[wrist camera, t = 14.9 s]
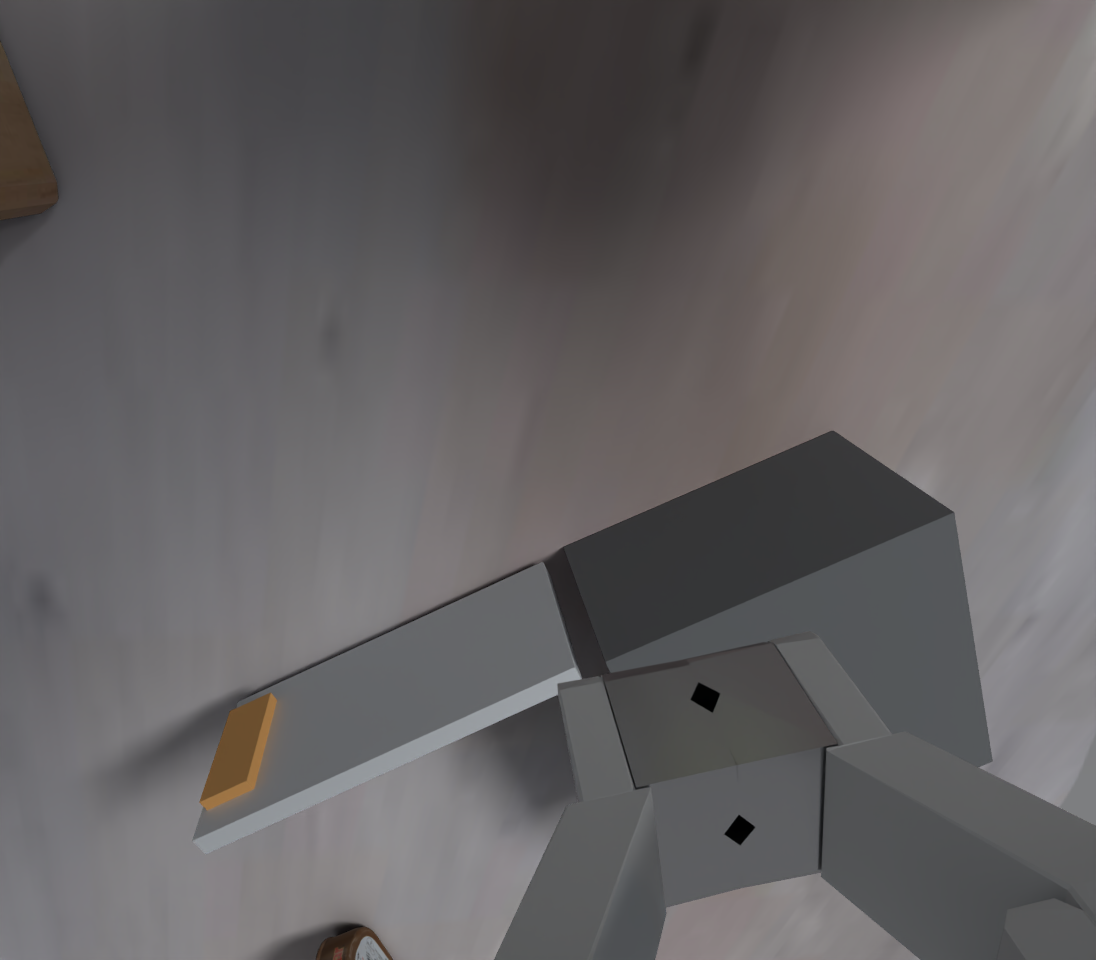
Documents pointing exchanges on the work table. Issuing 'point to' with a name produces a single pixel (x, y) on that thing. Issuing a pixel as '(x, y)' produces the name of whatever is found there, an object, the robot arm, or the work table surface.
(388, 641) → the door
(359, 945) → the tin
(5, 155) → the wooden block
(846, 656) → the cabinet body
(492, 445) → the work table surface
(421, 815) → the work table surface
